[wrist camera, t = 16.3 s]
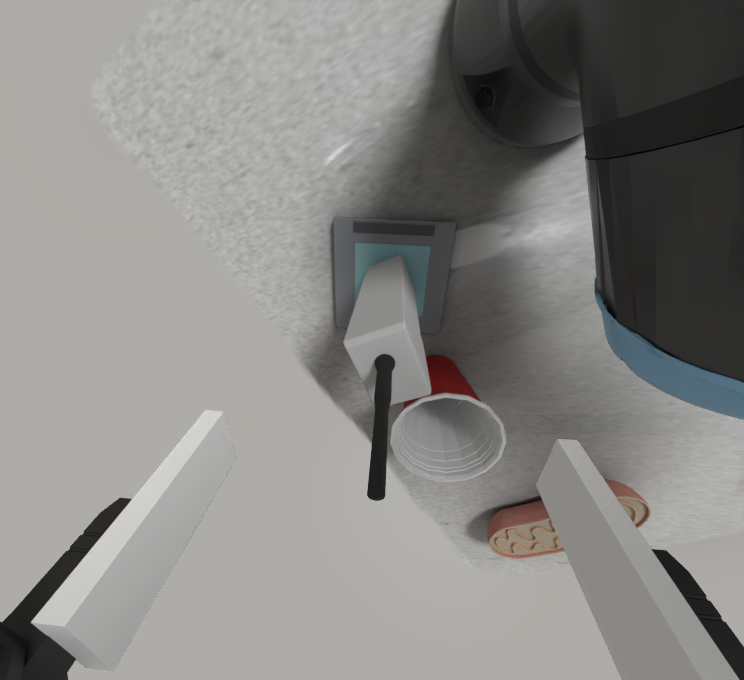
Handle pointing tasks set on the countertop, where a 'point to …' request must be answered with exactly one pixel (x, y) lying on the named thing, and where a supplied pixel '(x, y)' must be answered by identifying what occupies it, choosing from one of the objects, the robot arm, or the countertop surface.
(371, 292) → the vintage mobile phone
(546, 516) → the anatomical model
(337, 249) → the pad
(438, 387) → the plastic cup
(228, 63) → the countertop surface
